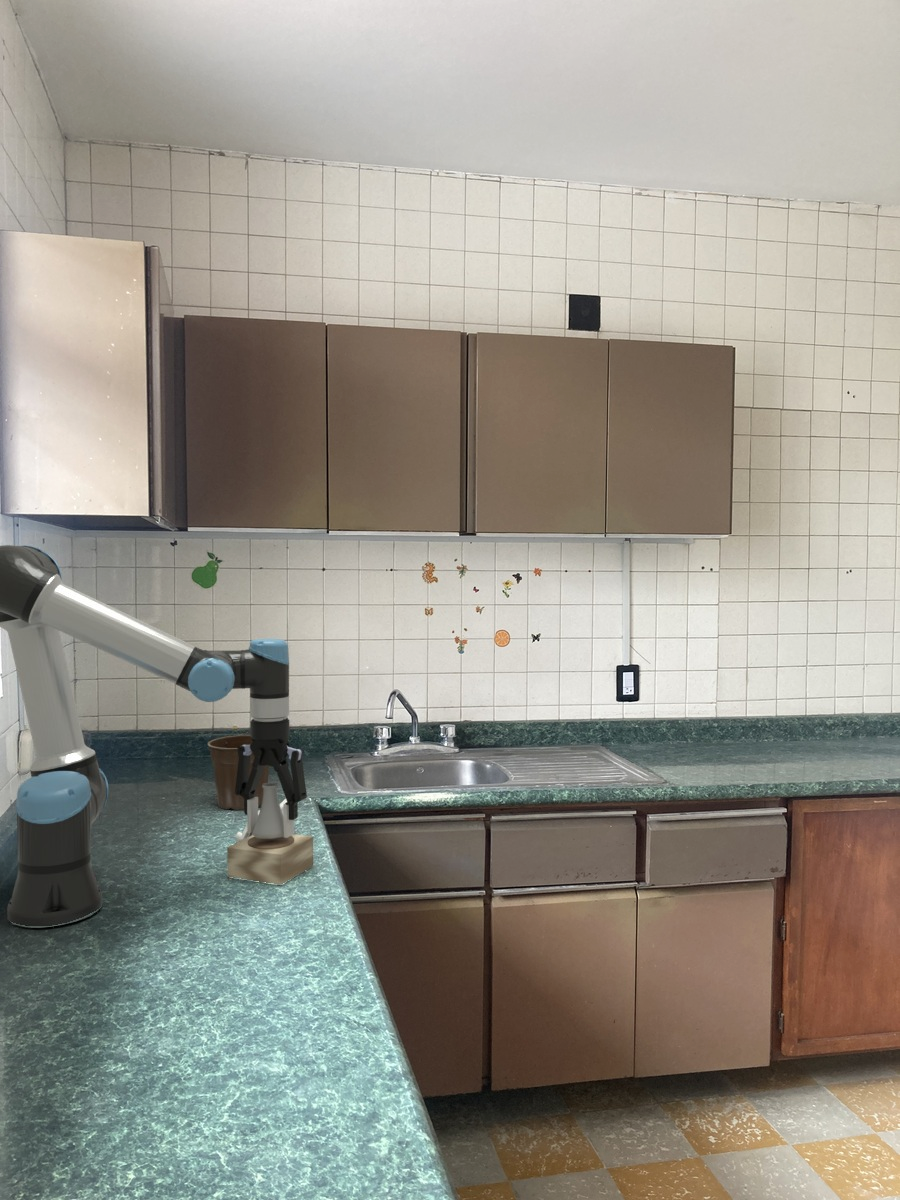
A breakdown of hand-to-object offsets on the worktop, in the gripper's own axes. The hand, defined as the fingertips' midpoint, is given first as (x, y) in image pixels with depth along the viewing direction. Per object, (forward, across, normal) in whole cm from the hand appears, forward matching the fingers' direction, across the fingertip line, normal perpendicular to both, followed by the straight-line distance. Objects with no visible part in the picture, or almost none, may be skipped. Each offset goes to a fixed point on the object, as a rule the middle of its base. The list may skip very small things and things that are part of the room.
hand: (270, 833), depth 176 cm
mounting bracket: (+8, +14, -19) cm, 25 cm away
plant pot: (+8, +34, -40) cm, 53 cm away
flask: (0, 0, 0) cm, 0 cm away
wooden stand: (+8, 0, 0) cm, 8 cm away
